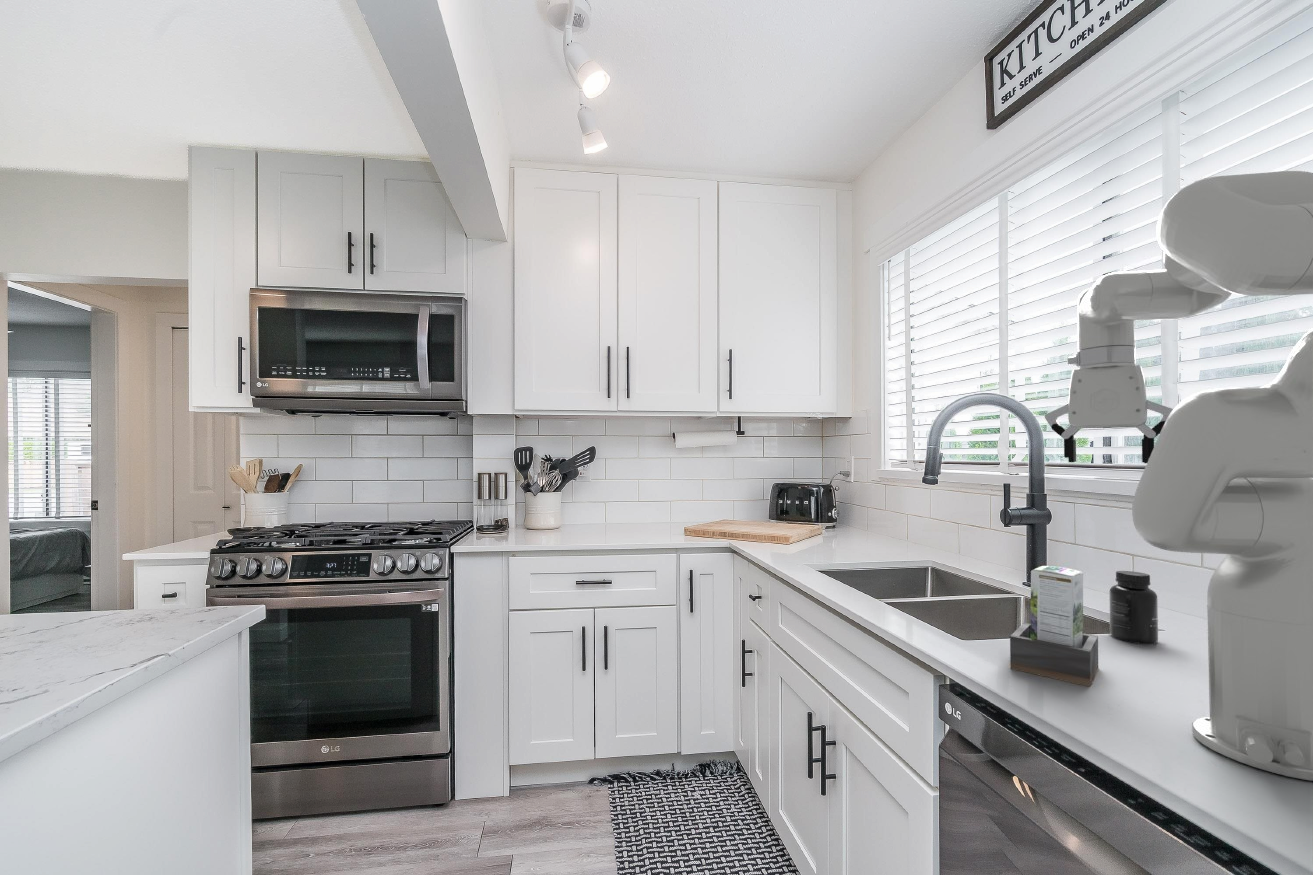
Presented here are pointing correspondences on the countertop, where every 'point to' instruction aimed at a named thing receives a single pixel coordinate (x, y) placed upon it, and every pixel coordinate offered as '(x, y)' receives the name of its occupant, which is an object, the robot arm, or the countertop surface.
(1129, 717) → the countertop surface
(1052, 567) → the syrup box
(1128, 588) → the supplement bottle
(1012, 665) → the socket block
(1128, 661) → the countertop surface
